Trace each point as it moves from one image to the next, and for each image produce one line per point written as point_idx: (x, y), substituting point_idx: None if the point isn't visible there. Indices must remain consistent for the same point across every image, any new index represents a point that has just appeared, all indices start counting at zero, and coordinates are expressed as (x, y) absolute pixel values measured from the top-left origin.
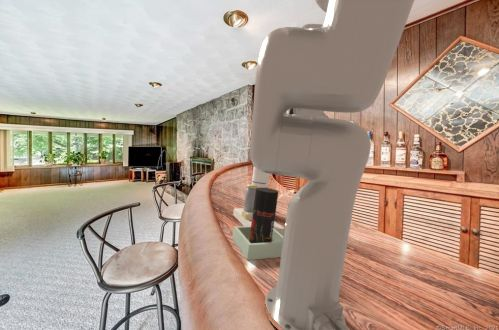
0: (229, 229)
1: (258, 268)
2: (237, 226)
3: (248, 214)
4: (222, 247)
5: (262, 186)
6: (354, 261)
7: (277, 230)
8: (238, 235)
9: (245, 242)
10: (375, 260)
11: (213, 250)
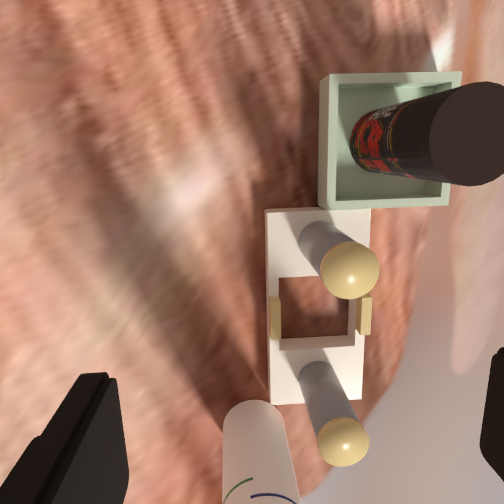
0: (411, 265)
1: (429, 35)
2: (436, 205)
3: (330, 346)
4: None
5: (267, 481)
6: (131, 23)
7: (293, 210)
8: None
9: None
10: (47, 16)
11: None
